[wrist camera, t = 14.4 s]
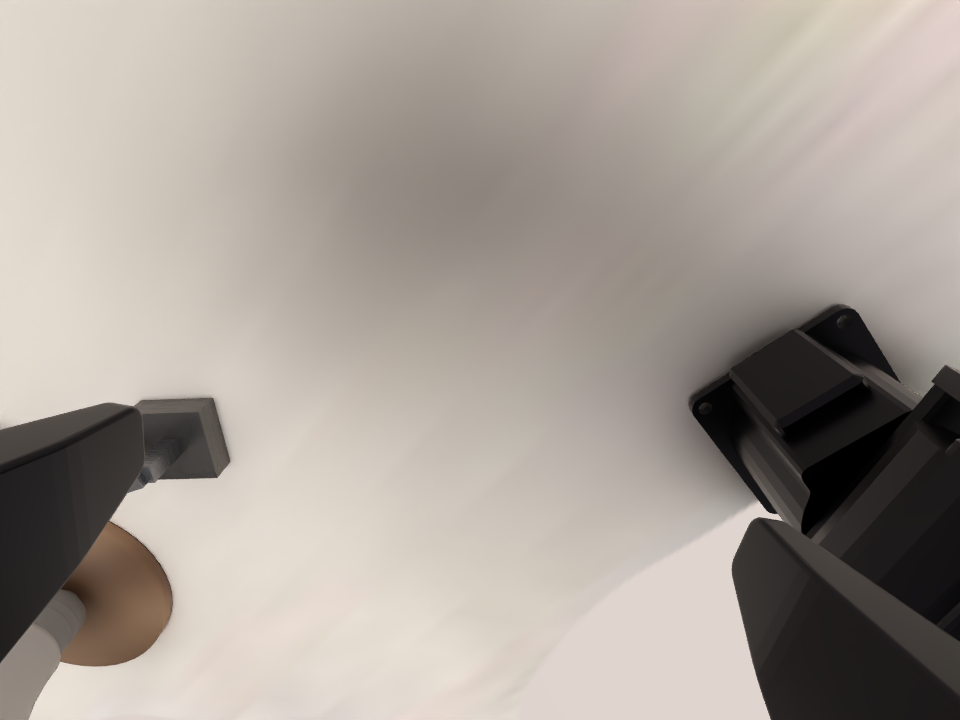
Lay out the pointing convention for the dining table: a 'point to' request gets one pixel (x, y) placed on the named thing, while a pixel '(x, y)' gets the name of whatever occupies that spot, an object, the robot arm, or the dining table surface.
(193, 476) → the grey metal bracket
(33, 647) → the lightbulb
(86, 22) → the dining table surface
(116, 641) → the walnut coaster
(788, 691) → the robot arm
